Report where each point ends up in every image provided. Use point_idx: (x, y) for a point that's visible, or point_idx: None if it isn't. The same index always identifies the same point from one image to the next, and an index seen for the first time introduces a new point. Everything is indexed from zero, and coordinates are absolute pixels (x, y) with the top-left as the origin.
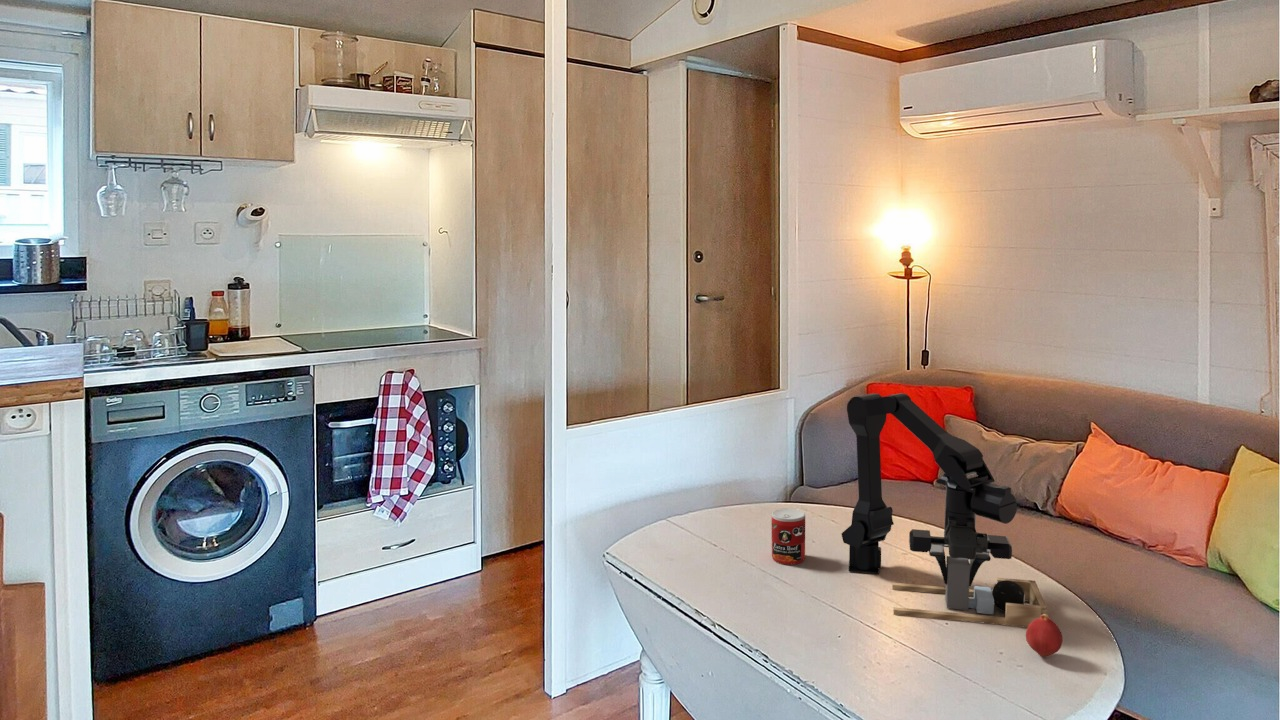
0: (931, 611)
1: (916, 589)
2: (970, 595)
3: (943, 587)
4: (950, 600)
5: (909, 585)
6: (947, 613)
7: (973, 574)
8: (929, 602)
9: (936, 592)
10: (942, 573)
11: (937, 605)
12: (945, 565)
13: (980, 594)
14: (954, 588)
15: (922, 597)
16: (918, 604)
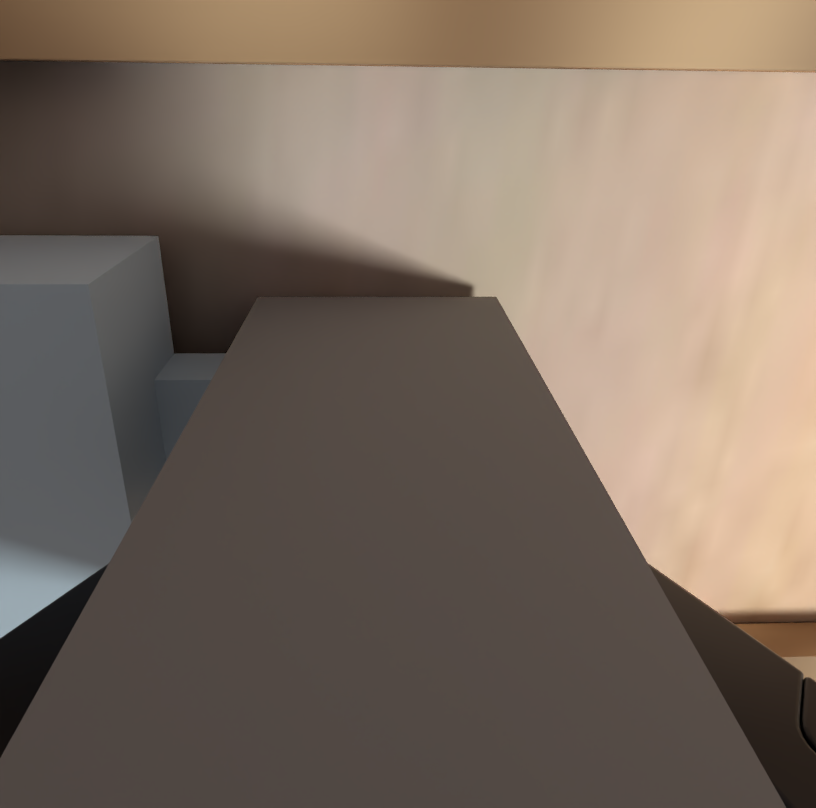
0: (747, 40)
1: None
2: None
3: None
4: (471, 326)
5: None
6: (540, 19)
7: (27, 652)
8: (646, 427)
9: None
10: (712, 617)
11: (577, 374)
12: (782, 777)
13: (57, 435)
14: (440, 400)
15: (689, 522)
16: (776, 355)
